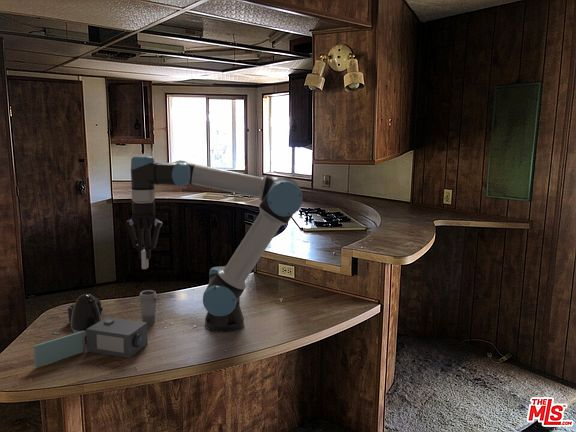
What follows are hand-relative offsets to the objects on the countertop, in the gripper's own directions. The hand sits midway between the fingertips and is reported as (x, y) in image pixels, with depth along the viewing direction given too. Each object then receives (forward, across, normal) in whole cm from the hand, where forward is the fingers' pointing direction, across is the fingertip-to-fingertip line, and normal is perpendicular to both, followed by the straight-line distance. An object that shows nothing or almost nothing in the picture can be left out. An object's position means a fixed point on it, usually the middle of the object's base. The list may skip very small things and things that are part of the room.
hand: (145, 267), depth 161 cm
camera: (+27, +29, -13) cm, 41 cm away
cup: (+27, +5, -14) cm, 30 cm away
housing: (+26, +7, +9) cm, 28 cm away
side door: (+26, +21, +19) cm, 38 cm away
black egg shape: (+26, +22, 0) cm, 35 cm away
